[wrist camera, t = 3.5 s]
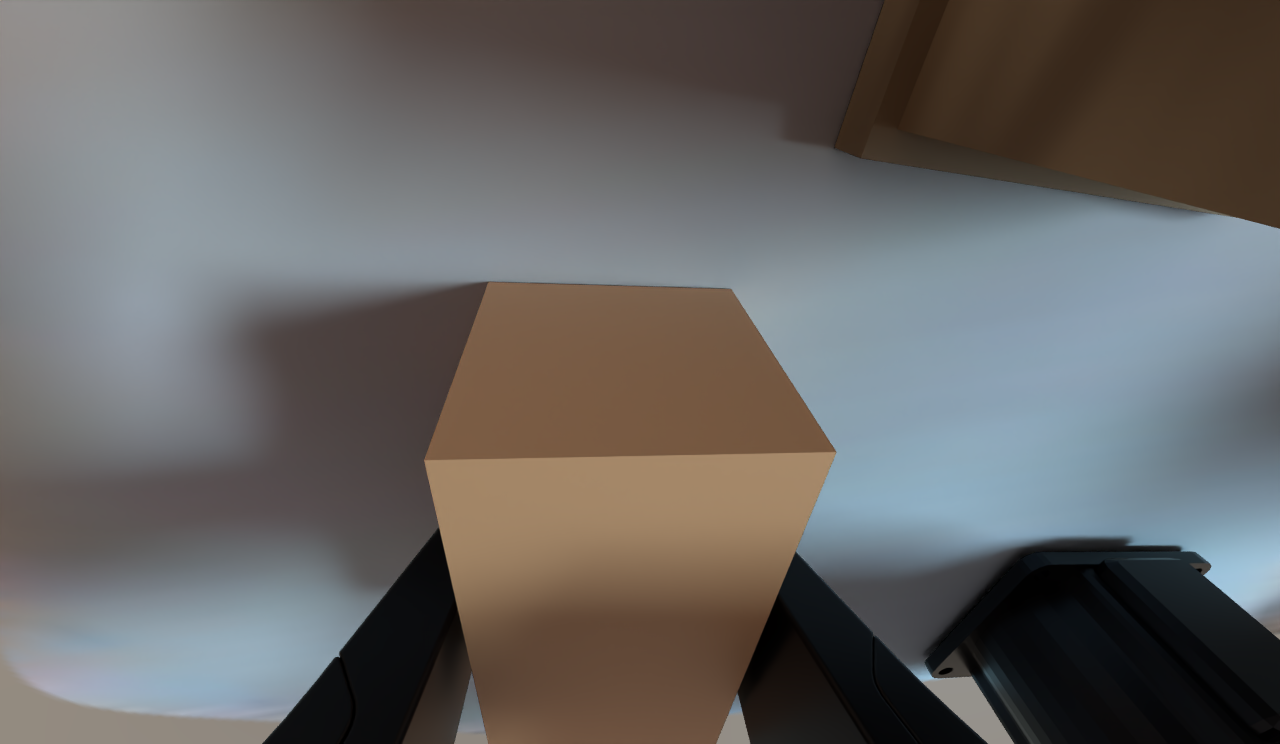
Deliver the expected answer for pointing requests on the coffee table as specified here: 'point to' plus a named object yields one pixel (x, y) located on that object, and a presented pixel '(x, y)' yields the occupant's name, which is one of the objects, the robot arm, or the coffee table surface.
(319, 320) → the coffee table surface
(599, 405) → the peg
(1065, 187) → the cradle
